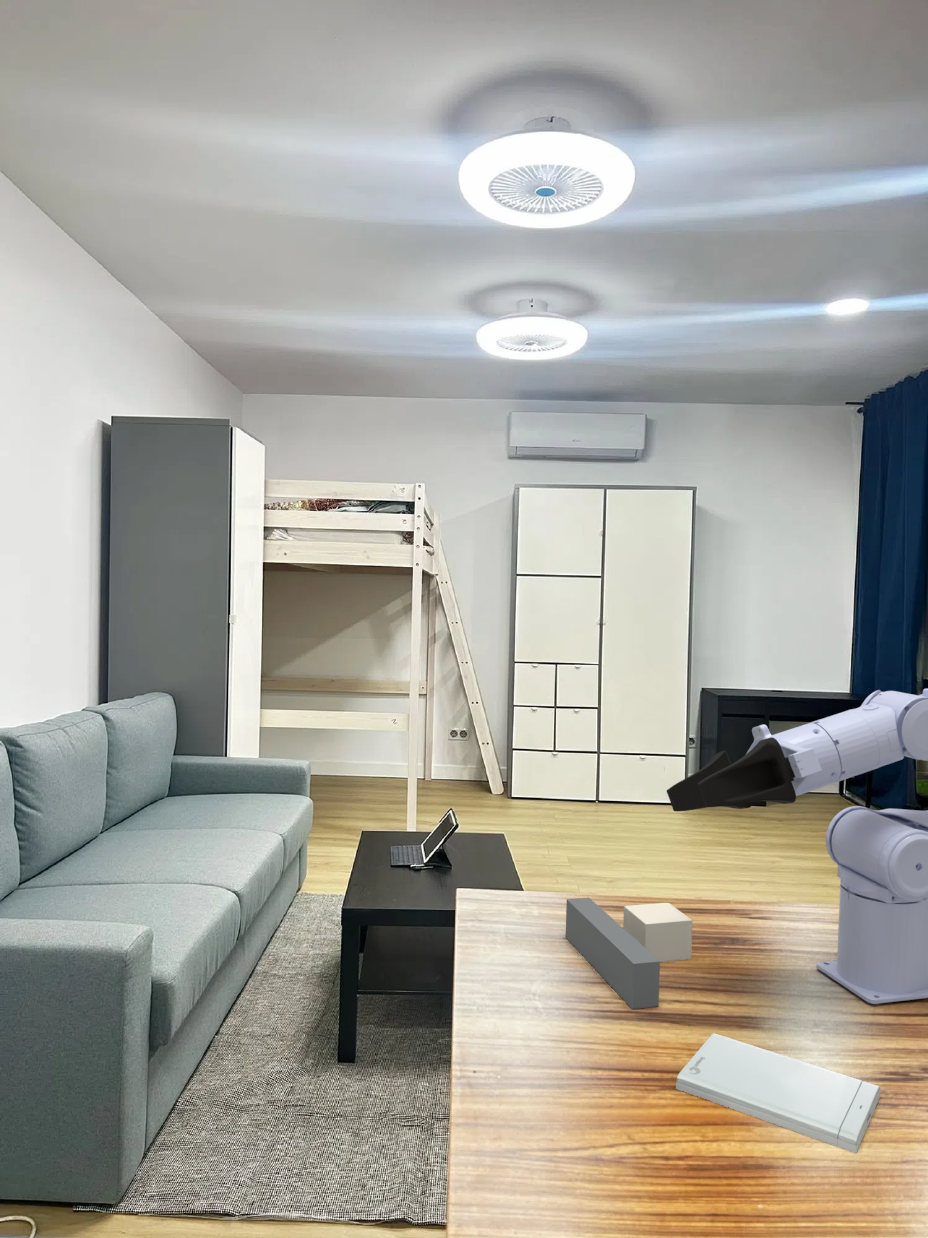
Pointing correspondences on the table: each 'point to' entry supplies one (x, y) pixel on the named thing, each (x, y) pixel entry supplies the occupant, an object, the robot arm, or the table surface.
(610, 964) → the gray bar
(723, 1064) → the hard drive
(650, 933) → the cream block
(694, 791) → the robot arm
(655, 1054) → the table surface
